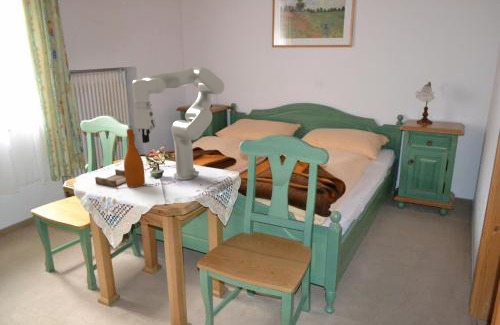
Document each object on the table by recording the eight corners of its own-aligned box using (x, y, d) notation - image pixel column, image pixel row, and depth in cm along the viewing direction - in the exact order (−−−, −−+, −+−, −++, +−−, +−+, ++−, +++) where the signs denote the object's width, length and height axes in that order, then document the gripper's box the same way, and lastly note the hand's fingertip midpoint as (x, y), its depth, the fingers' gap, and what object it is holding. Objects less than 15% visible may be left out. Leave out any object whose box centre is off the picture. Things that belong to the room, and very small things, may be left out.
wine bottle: (140, 188, 199) (134, 131, 190) (122, 187, 201) (115, 130, 192) (148, 182, 208) (143, 127, 199) (131, 181, 210) (125, 126, 201)
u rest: (136, 178, 214) (135, 172, 213) (115, 187, 201) (114, 181, 200) (117, 175, 220) (116, 169, 219) (95, 183, 207) (95, 177, 206)
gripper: (159, 105, 187) (162, 142, 193) (136, 103, 194) (139, 139, 199) (149, 107, 181) (152, 145, 186) (125, 105, 187) (129, 142, 193)
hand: (146, 142), depth 193 cm, fingers closed
